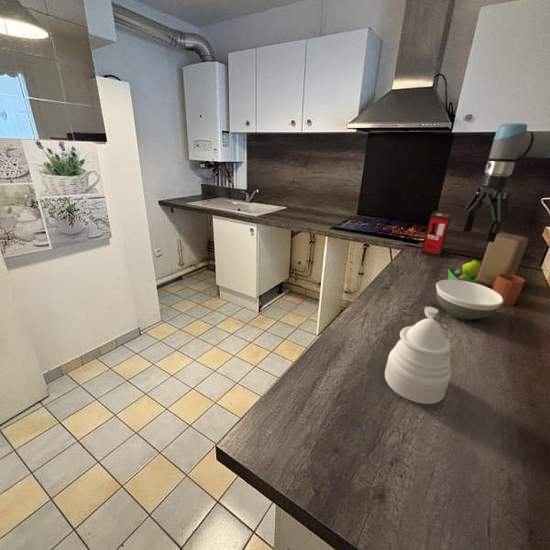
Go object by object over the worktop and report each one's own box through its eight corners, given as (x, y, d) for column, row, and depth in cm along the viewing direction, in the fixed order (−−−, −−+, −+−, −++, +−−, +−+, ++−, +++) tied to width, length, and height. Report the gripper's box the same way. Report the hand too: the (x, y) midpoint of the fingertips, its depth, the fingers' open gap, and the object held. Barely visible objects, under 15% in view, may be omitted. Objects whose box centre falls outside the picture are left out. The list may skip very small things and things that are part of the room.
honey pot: (383, 358, 74) (397, 295, 67) (438, 369, 71) (459, 305, 64) (385, 395, 63) (403, 324, 56) (451, 410, 60) (478, 338, 53)
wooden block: (512, 284, 120) (530, 237, 112) (502, 289, 115) (520, 241, 107) (485, 275, 128) (500, 231, 120) (474, 280, 123) (490, 234, 115)
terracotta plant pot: (515, 299, 108) (524, 277, 104) (514, 307, 102) (524, 284, 98) (490, 293, 112) (498, 271, 108) (488, 300, 106) (496, 277, 103)
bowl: (503, 334, 86) (513, 310, 83) (433, 321, 92) (440, 297, 88) (485, 306, 102) (493, 284, 99) (427, 295, 108) (432, 275, 105)
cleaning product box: (425, 246, 167) (434, 211, 159) (442, 249, 162) (452, 213, 154) (421, 253, 154) (430, 215, 146) (439, 257, 150) (450, 218, 142)
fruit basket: (443, 279, 123) (451, 253, 119) (466, 281, 122) (475, 256, 117) (453, 290, 113) (461, 263, 108) (478, 293, 111) (488, 266, 107)
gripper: (464, 172, 109) (449, 227, 118) (512, 178, 86) (489, 246, 95) (484, 172, 109) (467, 228, 118) (537, 179, 86) (512, 247, 95)
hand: (477, 236), depth 106 cm, fingers open, 13 cm apart
